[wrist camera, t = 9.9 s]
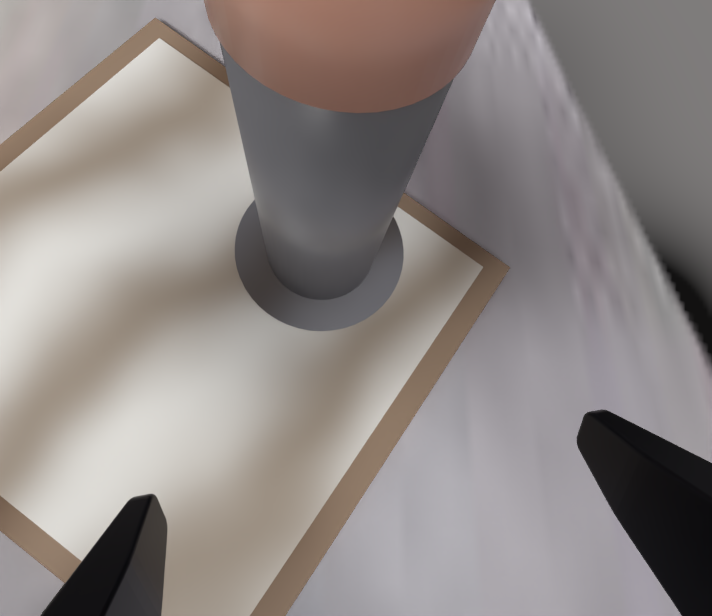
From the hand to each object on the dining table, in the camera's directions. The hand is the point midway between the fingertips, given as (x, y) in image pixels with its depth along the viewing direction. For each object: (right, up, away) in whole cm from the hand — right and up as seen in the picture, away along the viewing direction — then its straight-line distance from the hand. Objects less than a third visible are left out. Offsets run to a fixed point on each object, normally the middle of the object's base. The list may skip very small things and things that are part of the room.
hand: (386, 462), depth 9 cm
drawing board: (-8, +3, +8) cm, 12 cm away
